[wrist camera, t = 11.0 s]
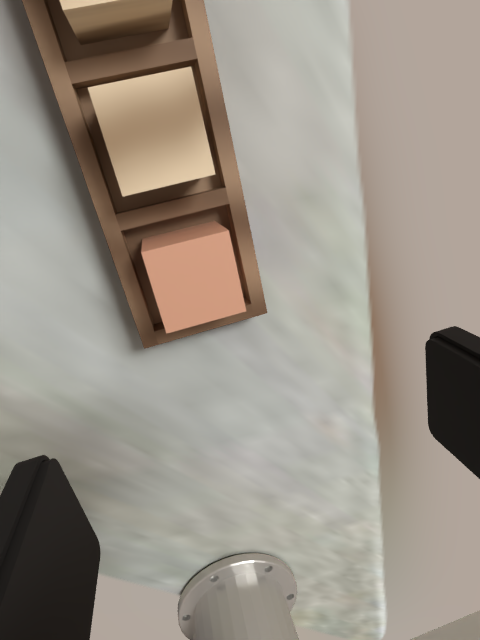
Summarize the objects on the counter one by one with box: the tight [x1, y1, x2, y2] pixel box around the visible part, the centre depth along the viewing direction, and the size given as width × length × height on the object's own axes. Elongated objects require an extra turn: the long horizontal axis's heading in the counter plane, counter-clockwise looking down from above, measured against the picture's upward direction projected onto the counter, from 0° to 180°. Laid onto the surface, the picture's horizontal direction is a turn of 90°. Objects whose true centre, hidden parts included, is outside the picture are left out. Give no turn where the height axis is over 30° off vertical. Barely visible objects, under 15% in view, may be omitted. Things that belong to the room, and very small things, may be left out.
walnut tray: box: [22, 0, 267, 349], centre depth 22 cm, size 25×9×6 cm, turn 12°
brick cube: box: [141, 221, 246, 334], centre depth 25 cm, size 5×5×5 cm
